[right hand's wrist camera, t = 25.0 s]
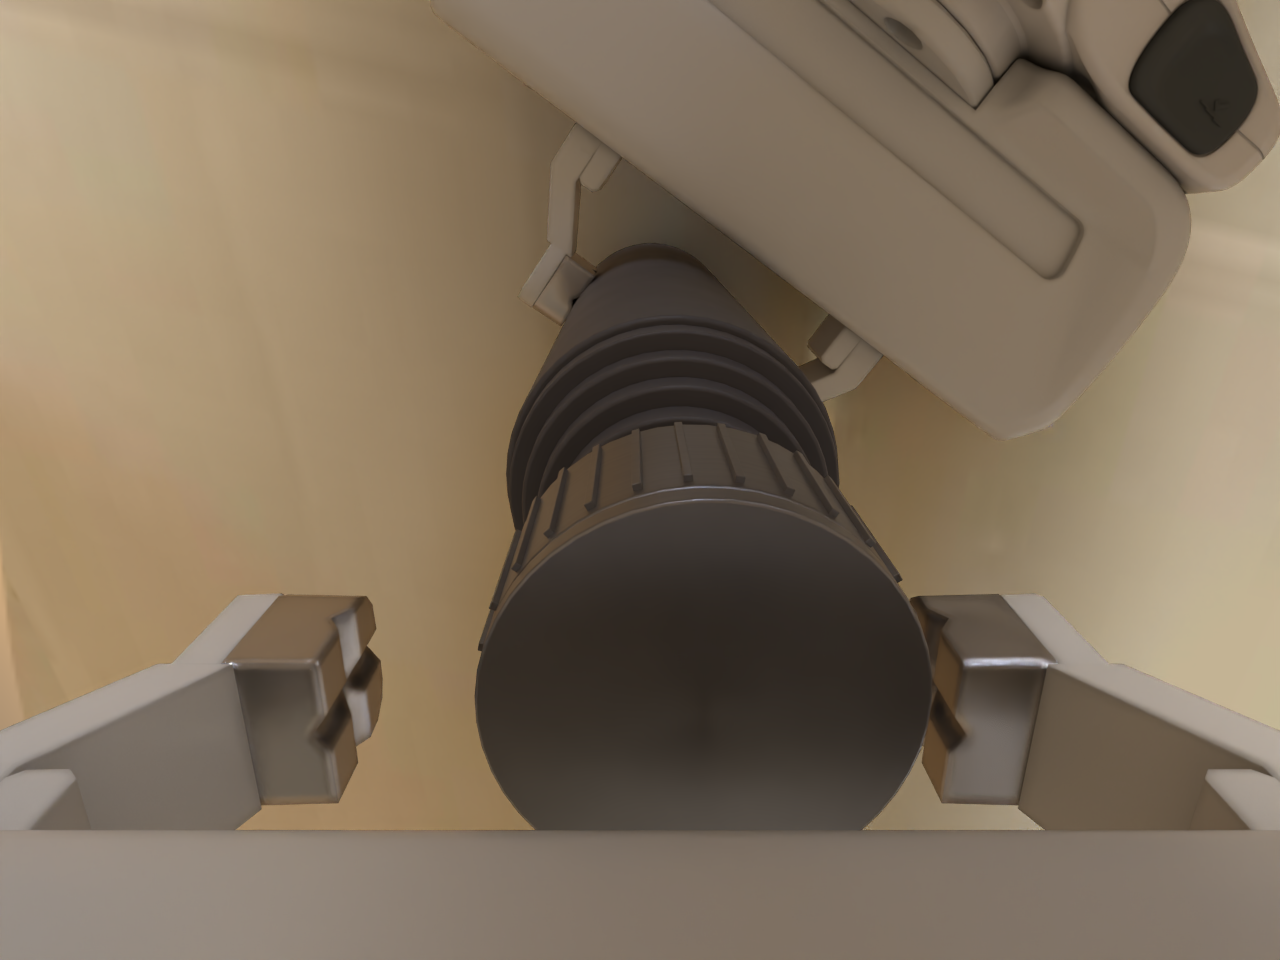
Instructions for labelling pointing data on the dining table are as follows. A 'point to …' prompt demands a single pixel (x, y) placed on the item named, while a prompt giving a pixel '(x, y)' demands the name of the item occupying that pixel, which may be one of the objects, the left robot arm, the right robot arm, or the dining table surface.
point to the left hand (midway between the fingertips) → (637, 376)
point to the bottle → (659, 372)
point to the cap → (699, 646)
